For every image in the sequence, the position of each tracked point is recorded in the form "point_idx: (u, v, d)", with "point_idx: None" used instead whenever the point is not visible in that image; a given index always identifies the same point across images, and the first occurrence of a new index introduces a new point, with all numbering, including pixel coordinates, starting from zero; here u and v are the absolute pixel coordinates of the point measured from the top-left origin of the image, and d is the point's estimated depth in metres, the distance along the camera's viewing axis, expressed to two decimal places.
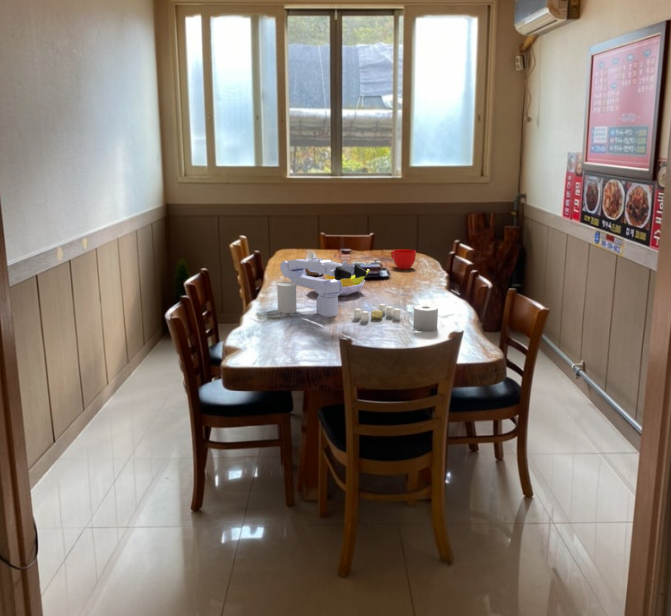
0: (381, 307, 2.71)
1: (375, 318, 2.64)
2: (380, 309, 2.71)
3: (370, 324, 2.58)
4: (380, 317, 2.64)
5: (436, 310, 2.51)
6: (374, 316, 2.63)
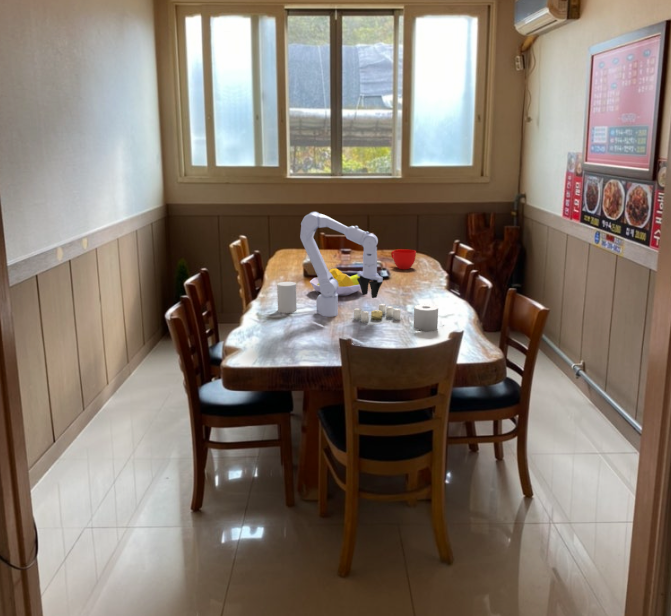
0: (381, 307, 2.71)
1: (375, 318, 2.64)
2: (380, 309, 2.71)
3: (370, 324, 2.58)
4: (380, 317, 2.64)
5: (436, 310, 2.51)
6: (374, 316, 2.63)
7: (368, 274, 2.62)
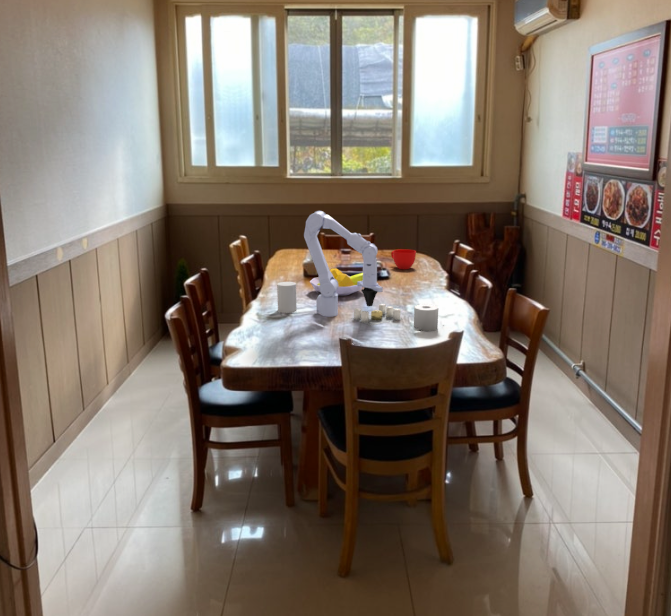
0: (381, 307, 2.71)
1: (375, 318, 2.64)
2: (380, 309, 2.71)
3: (370, 324, 2.58)
4: (380, 317, 2.64)
5: (436, 310, 2.51)
6: (374, 316, 2.63)
7: (368, 284, 2.63)
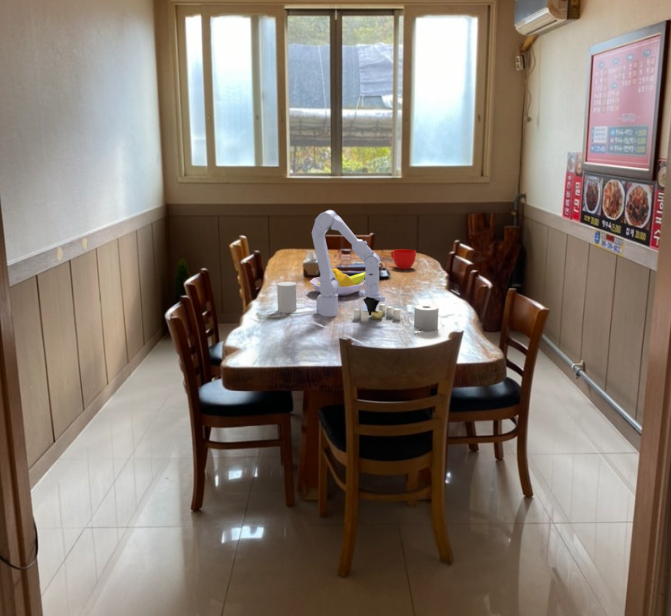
0: (381, 307, 2.71)
1: (375, 318, 2.63)
2: (380, 309, 2.71)
3: (370, 324, 2.58)
4: (380, 317, 2.64)
5: (436, 310, 2.52)
6: (374, 316, 2.63)
7: (370, 294, 2.63)
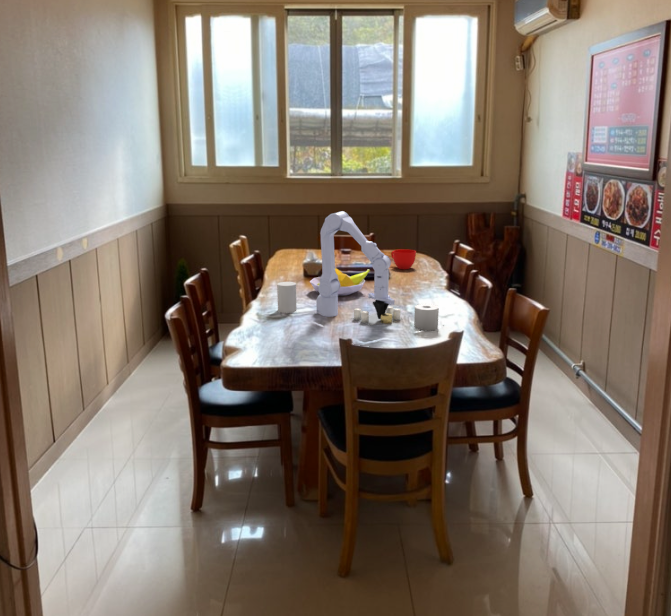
0: None
1: (385, 321, 2.59)
2: None
3: (370, 324, 2.58)
4: (390, 321, 2.59)
5: (437, 310, 2.52)
6: (384, 320, 2.59)
7: (380, 296, 2.58)
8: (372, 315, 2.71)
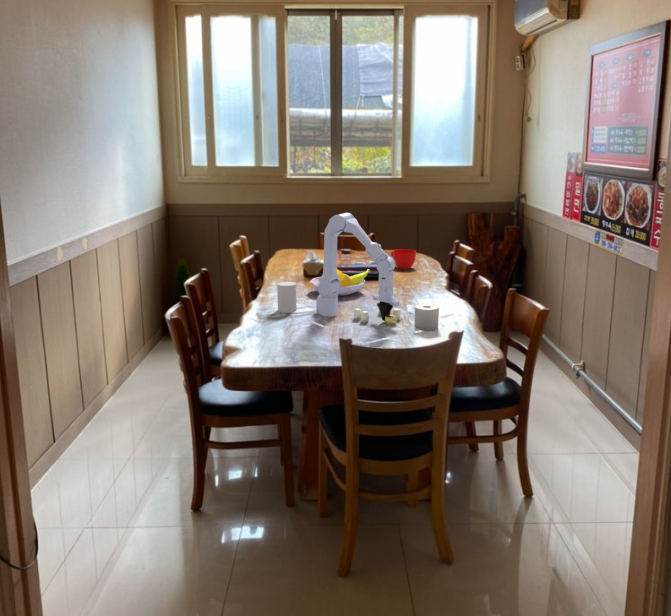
0: None
1: (389, 323, 2.57)
2: None
3: (370, 324, 2.58)
4: (395, 323, 2.57)
5: (437, 310, 2.52)
6: (388, 322, 2.56)
7: (384, 298, 2.56)
8: (372, 315, 2.71)
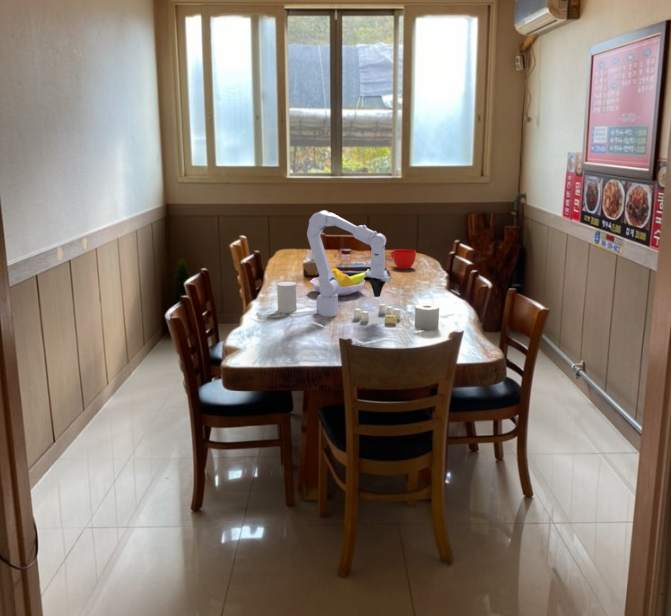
0: (381, 307, 2.71)
1: (389, 323, 2.57)
2: (380, 309, 2.71)
3: (370, 324, 2.58)
4: (395, 323, 2.57)
5: (437, 310, 2.52)
6: (388, 322, 2.57)
7: (376, 274, 2.60)
8: (372, 315, 2.71)
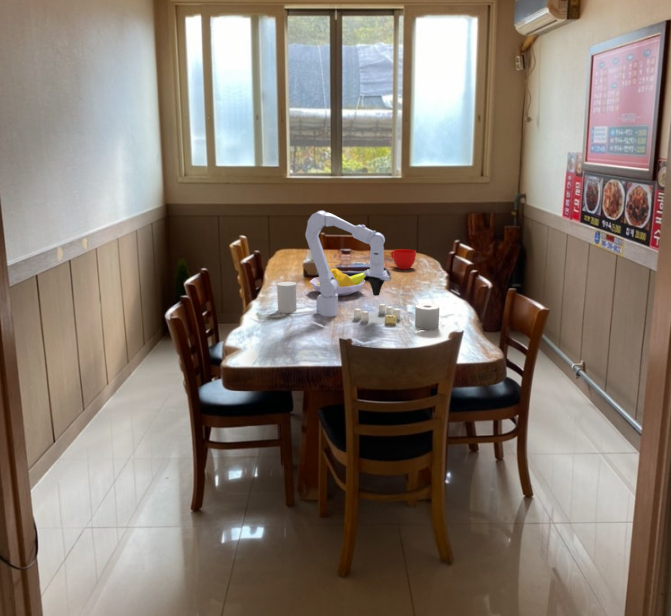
0: (381, 307, 2.71)
1: (389, 323, 2.57)
2: (380, 309, 2.71)
3: (370, 324, 2.58)
4: (395, 323, 2.57)
5: (437, 309, 2.52)
6: (388, 322, 2.57)
7: (375, 273, 2.62)
8: (372, 315, 2.71)
